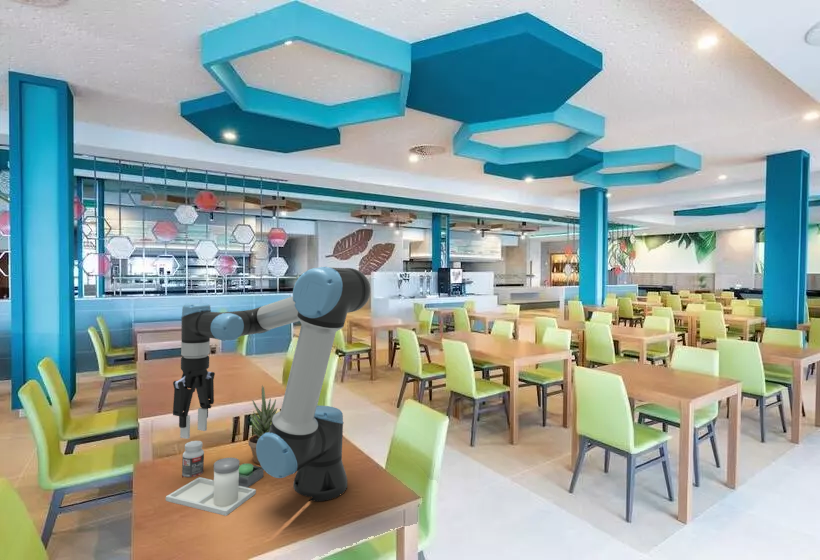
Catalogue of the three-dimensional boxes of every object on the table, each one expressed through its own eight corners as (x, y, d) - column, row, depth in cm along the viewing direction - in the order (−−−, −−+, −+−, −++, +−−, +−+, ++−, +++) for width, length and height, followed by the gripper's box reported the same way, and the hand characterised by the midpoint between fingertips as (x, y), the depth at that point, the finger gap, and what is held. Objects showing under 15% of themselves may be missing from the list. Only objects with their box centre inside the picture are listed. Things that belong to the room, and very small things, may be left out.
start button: (255, 471, 128) (256, 464, 127) (246, 477, 124) (246, 470, 124) (244, 469, 129) (244, 462, 129) (235, 475, 125) (235, 468, 125)
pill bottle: (194, 482, 126) (195, 448, 126) (177, 480, 127) (178, 446, 127) (207, 473, 132) (208, 441, 132) (191, 471, 133) (191, 439, 133)
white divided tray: (258, 497, 120) (259, 488, 120) (225, 522, 107) (225, 513, 107) (199, 483, 126) (200, 475, 126) (161, 506, 113) (161, 497, 113)
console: (263, 480, 129) (263, 467, 128) (247, 492, 122) (247, 478, 122) (243, 476, 131) (243, 463, 131) (226, 487, 124) (227, 473, 124)
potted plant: (254, 453, 147) (256, 380, 147) (282, 454, 147) (284, 381, 146) (242, 466, 137) (244, 388, 137) (272, 467, 137) (274, 389, 136)
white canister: (243, 496, 117) (244, 459, 117) (227, 508, 111) (228, 469, 111) (224, 492, 119) (225, 456, 119) (207, 503, 113) (208, 465, 113)
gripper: (208, 349, 139) (207, 421, 139) (158, 360, 121) (156, 443, 121) (228, 351, 136) (226, 425, 137) (179, 363, 119) (177, 447, 119)
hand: (193, 433), depth 129 cm, fingers open, 6 cm apart
